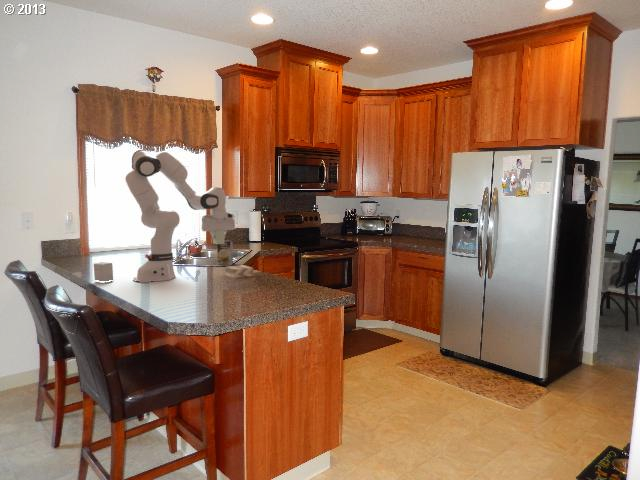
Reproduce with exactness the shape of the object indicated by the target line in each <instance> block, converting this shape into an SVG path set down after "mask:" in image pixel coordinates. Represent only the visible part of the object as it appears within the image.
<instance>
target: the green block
mask: <svg viewBox="0 0 640 480" xmlns="http://www.w3.org/2000/svg"><path fill="white" fill-rule="evenodd" d="M213 234H214V236H215V239H212V244H214V245H217V244H224V240H225V238H224V230H217V231H214V233H213Z"/></svg>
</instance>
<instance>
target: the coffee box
mask: <svg viewBox="0 0 640 480" xmlns="http://www.w3.org/2000/svg"><path fill="white" fill-rule="evenodd" d="M216 246H217V247H216V248H217V266H233V264H234V256H233V255H234V249H233V248H234V241H233V240H225V239H224V244H216Z"/></svg>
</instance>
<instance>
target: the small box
mask: <svg viewBox="0 0 640 480" xmlns="http://www.w3.org/2000/svg"><path fill="white" fill-rule="evenodd" d="M113 267H114V266H113V263H112V262H105V261H103V262H96V263H93V272H94V273H93V274H94V281H95V280H99V281H109V280H113V281H114V272H113V271H114V270H113Z"/></svg>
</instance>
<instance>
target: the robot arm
mask: <svg viewBox="0 0 640 480" xmlns="http://www.w3.org/2000/svg"><path fill="white" fill-rule="evenodd" d="M131 169H132V171H129V172H128V173H127V174H126V175H125V179H124V180H125V182H126V185H127V188H128V189H129V191H130V193H131V195H132V197H133V198H134V199H135V201H136V202H137V204H138V206H139V208H140V210H141V217H140V220H141V222H142V225H144V226H146V227H147V228H150V229H155V231H154V232H155V233H154V235H153V237H151V239H150V254H146V253H145V255H144V257H145V258H146V259H147V261H146V262H145V263H143V264H142V265H141V266H140V267H139V268H138V270H137V273H136V276H135V277H133V279H134V280H136V281H139V282H138V283H152V282H151V281H154V282H162V281H171V280H172V279H173V280H174V279H175V278H176V274H175V269H174V264H173V263H174V255H173V254H174V253H173V251H172V250H173V249H172V248H173V246H172V241H173V235H174V231H175V229H176V228H177V227H178V226H179V224H180V219H181V218H180V215H179V213H178V212H176V211H175V210H172V209H169V208H168V209H167V208H163V209H162V208H161V207H160V206H159V203H158V201H159V199H160V198H159V195H158V193H157V191H156V190H155V188H154V187H153V186H152V183H151V182H150V180H149V178H148V177H151V176H154V175H156V174H157V173H159V172H161V173H162V175H163V176H164V177H166V178H167V180H169V182H171V183H172V185H173V186H174V187H175V189H177V191H178V192H179V193H180V194H181V195H182V196H183V197H184V198H185V200H186V203H187V205H188V206H189V207H190V208H191V209H192V210H194V211H199V210H201V211H202V210H203V211H205V210H208V211H209V210H210V215H209V214H208V215H207V214H205V215H203V216H202V217H201V230H202V232H209V234H210V235H211V240H213V239H215V236H214V234H213V233H214V231H217V230H224V239H225V238H226V235H227V233H228V231H234V230H235V229H236V225H235V224H236V223H235V219H234V216H235V215H234V214H233V213H230V212H227V209H226V204H227V203H226V202H227V199H226V191H225V190H224V188H222V187H217V186H213V187H212V186H211V188H210V189H209V190H207V191H205V192H197V191H195V190H194V189H193V188H192V187H191V186H190V185H189V184H188V183H187V179H188V170H187V168H186V167H185V166H184V164H182V162H181V161H180V160H178V158H176V157H175V156H174V155H172V154H171V153H170V152H168V151H165V150H164V151H163V150H162V151H159V153H157V154H156V155H152V154H151V153H150V152H149V151H147V150H145V149H138V150H136V151H135V152H133V154H132V157H131ZM133 279H132V280H133ZM134 280H133V281H134ZM136 281H135V282H136Z"/></svg>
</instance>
